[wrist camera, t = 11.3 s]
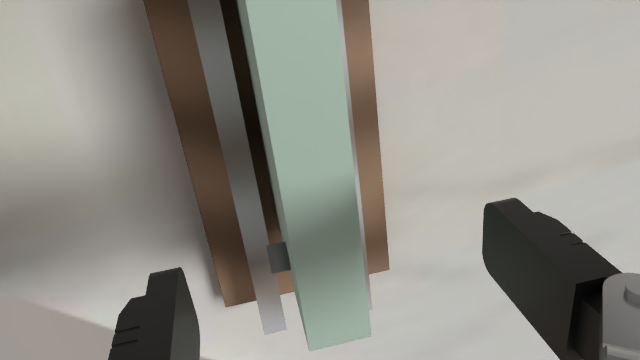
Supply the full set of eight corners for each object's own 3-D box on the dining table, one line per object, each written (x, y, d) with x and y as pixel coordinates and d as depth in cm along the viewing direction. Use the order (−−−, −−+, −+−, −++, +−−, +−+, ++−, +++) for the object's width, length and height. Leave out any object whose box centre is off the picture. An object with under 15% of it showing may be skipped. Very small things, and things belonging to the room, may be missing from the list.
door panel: (204, -58, 21) (201, -59, 12) (278, -69, 22) (327, -77, 13) (262, 223, 27) (288, 356, 19) (319, 211, 28) (371, 336, 19)
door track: (114, -126, 21) (92, -142, 17) (347, -154, 22) (377, -175, 18) (225, 291, 31) (227, 343, 27) (382, 256, 32) (406, 300, 28)
